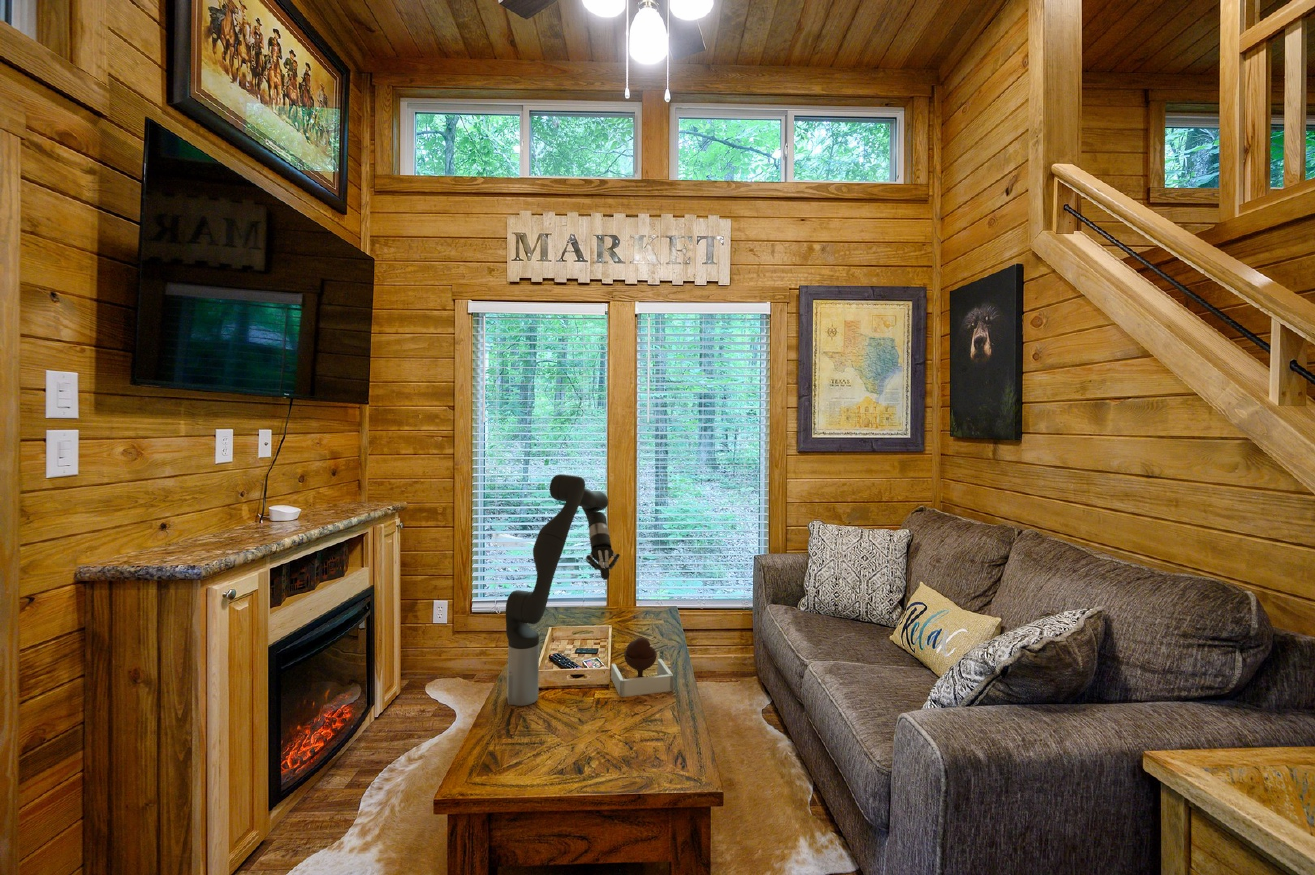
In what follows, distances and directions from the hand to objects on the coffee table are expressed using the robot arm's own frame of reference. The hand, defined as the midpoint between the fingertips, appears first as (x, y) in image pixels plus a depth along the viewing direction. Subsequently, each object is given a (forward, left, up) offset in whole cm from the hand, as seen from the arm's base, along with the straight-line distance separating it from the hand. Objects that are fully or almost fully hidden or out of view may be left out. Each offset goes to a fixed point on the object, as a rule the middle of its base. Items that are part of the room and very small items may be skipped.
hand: (605, 578), depth 209 cm
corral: (+8, -21, -30) cm, 37 cm away
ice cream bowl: (+8, -19, -30) cm, 36 cm away
